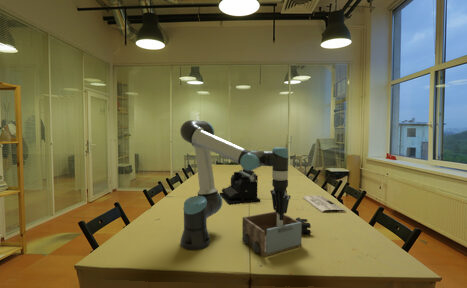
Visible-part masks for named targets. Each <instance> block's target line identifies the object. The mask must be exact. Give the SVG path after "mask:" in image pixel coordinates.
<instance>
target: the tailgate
mask: <svg viewBox="0 0 467 288" xmlns="http://www.w3.org/2000/svg"><path fill="white" fill-rule="evenodd" d="M300 244H301V245H302V234H301V222H296V223H292V224H287V225H283V226H278V227H274V228H269V229H266V252H267V253H271V252H274V251H278V250H282V249H285V248H289V247H292V246H296V245H300Z"/></svg>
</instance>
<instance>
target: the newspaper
mask: <svg viewBox="0 0 467 288" xmlns="http://www.w3.org/2000/svg"><path fill="white" fill-rule="evenodd" d="M302 199H304V200H305V201H306V202H308V203H309V204H310V205H312V206H313V207H315V209H317V210H318V211H320V212H321V213H325V211H336V210H337V211H336V212H338V213H345V212H346V210H345V209H344V208H342V207H341V206H339V205H337V204H336V203H334V202H332V201H331V200H330V199H327V198H326V197H324V196H323V195H304V196H303V197H302Z"/></svg>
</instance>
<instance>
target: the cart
mask: <svg viewBox="0 0 467 288" xmlns="http://www.w3.org/2000/svg"><path fill="white" fill-rule="evenodd" d="M295 219H296V218H293V217H291V216H289V215H287V214H286V213H285V214H284V215H283V225H287V224H292V223H296V222H299V221H297V220H295ZM274 227H278V226H277V218H276V211H275V210H274V211H270V212H263V213H260V214H254V215H248V216H243V217H242V235H241V236H242V238H241V239H242V240H243V243H244V244H245V245H248V246H249V247H250V248H252V250H253V253H255V254H259V255H260V256H261V257H262V256H264V257H267V256H271V255H273V254H277V252H278V253H281V252H284V250H285V251H287V250H291V248H292V249H294V248H298V247H299V248H300V247H301V246H302V243H301V244H300V245H296V246H292V247H289V248H285V249H282V250H278V251H274V252H271V253H267V252H266V229H269V228H274ZM301 232H302V223H301ZM270 254H271V255H270ZM266 255H267V256H266Z"/></svg>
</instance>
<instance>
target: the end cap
mask: <svg viewBox="0 0 467 288" xmlns="http://www.w3.org/2000/svg"><path fill="white" fill-rule="evenodd" d="M294 219H295V220H297V221H299V222H301V223H302V232H301V236H311V228H312V227H311V223H310V222H309V221H308V219H306V218H300V217H296V218H294Z"/></svg>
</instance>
